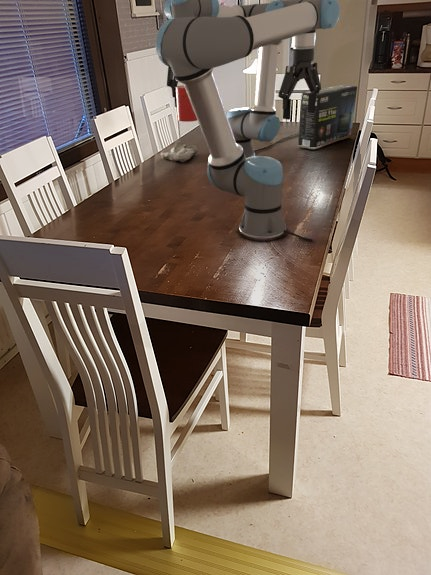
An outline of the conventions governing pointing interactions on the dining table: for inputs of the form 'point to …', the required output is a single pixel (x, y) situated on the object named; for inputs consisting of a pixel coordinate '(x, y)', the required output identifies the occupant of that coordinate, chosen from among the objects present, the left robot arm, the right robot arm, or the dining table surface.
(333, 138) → the router box
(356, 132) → the dining table surface
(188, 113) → the canister
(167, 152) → the fossil
